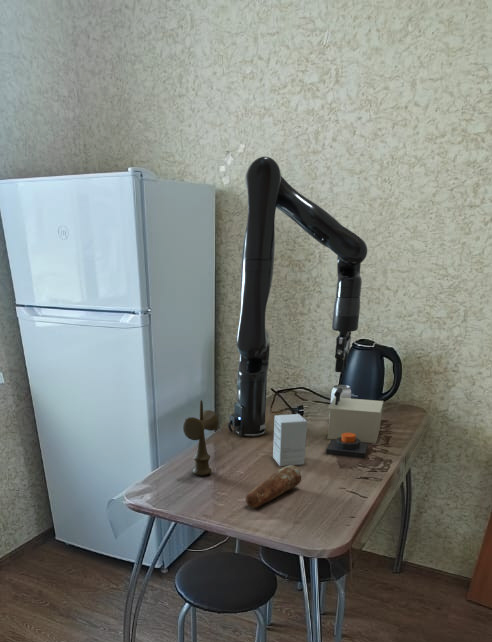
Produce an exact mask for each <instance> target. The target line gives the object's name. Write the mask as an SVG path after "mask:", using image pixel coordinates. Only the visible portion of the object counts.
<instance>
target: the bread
mask: <svg viewBox="0 0 492 642" xmlns="http://www.w3.org/2000/svg"><path fill="white" fill-rule="evenodd" d="M301 481H302V475H301V468H300V467H299V466H298V465H289V466H282V467H281V468H280V469H278V470H277V471H276V472H274V473H273V474H272V475H270V476H269V477H267V478H266V479H264V480H263V481H262V482H260V483H259V484H258V485H257V486H256V487H253V489H251V491H249V492H248V493H247V494H246V495H245V503H246V504H247V506H249V507H250V508H252V509H258V508H259V507H261V506H263V505H264V504H266V503H269V502H270V501H272V500H274V499H275V498H277V497H279V496H280V495H282V494H284V493H285V492H288V491H289V490H292V489H293V488H295V487H297V486H298V485H299V484H300V483H301Z"/></svg>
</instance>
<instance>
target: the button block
mask: <svg viewBox="0 0 492 642" xmlns="http://www.w3.org/2000/svg"><path fill="white" fill-rule="evenodd" d="M368 447H369V443H368V442H360V440H359V439H358V438H355V442H354V443H346V442H342V441H341V437H339V438H337V439H330V440H329V443H328V445H327V447H326V449H325V455H331V456H339V457H348V458H350V457H351V458H357V459H358V458H359V459H365V458H366V455H367V451H368Z"/></svg>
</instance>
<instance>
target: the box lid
mask: <svg viewBox="0 0 492 642" xmlns="http://www.w3.org/2000/svg"><path fill="white" fill-rule="evenodd" d="M342 391H343V390H342V388H338V389H337V390H336V392H335V394H334V396H335V397H334V399H333V400H332V402H331V401H330V403H331V404H330V403H329V405H328V406H327V409H326V410H327V411H328V412H330V411H339V412H350V413H362V414H374V415H380V413H381V409H382V406H383V407H384V400H376V399H375V400H373V399H361V398H360V399H359V398H351V399H350V398H340V395H341V393H342ZM382 410H383V409H382Z"/></svg>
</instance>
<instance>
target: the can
mask: <svg viewBox="0 0 492 642" xmlns="http://www.w3.org/2000/svg"><path fill="white" fill-rule="evenodd" d="M332 387H333V388H332V389H331V395H330V403H329V405H330V404H331V402H332V400H333V399H334V397H335V396H334V394H335V392H336V390H337V389H338V388H342V390H343V391H342V393H341V395H340V398H350V399H352V389H351V386H350V385H348V384H334V385H333V386H332ZM329 417H330V413H329V414H328V418H329Z"/></svg>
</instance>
